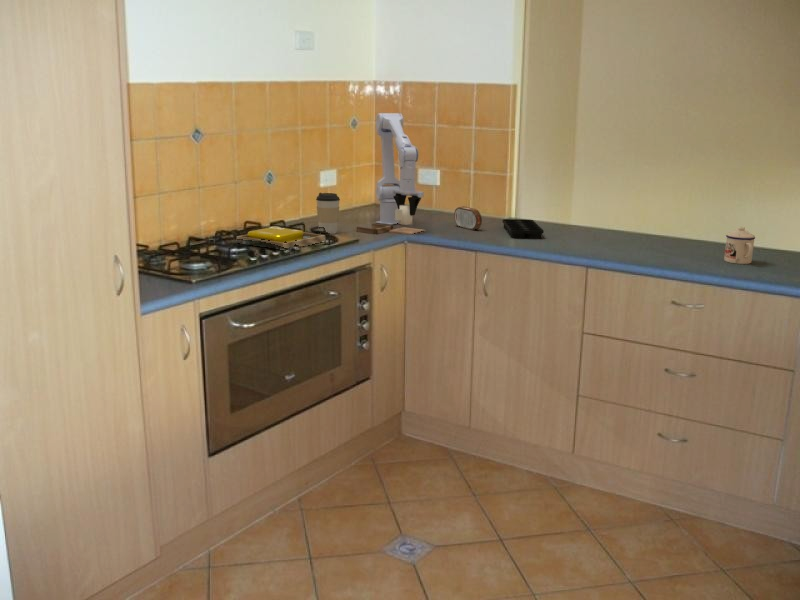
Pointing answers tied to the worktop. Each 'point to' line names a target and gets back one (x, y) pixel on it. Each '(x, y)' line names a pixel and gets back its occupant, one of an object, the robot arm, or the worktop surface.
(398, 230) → the plate
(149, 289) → the worktop surface
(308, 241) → the corral
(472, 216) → the brown speaker
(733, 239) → the teacup with lid
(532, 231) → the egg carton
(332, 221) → the coffee cup
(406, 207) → the jug
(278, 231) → the element tile
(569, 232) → the worktop surface
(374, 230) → the holder
